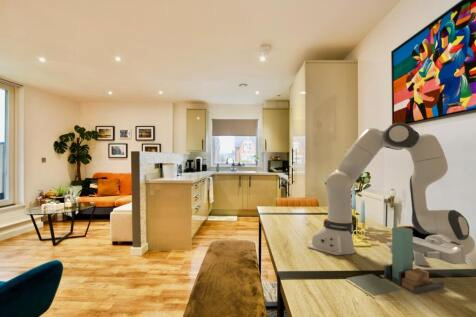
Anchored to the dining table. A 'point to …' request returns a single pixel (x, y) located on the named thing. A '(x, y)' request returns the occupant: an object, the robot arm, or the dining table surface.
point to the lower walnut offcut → (411, 284)
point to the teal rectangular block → (401, 250)
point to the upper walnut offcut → (417, 275)
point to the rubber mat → (373, 284)
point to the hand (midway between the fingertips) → (412, 250)
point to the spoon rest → (418, 257)
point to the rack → (416, 289)
